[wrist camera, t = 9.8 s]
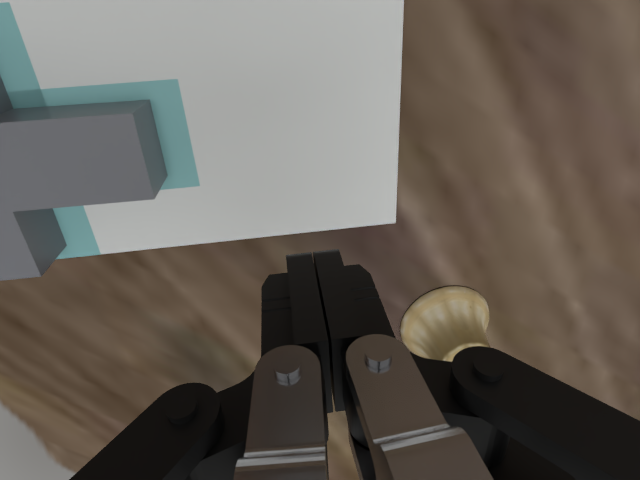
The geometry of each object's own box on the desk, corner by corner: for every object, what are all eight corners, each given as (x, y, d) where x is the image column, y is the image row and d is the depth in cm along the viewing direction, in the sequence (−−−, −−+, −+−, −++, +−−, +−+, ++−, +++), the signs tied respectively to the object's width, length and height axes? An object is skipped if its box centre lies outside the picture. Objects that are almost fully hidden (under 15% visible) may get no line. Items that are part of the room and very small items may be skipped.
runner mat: (-136, -12, 22) (-141, -12, 22) (404, -42, 24) (405, -42, 24) (2, 262, 30) (0, 264, 30) (394, 221, 32) (395, 222, 32)
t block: (-98, 28, 23) (-163, 32, 19) (130, 17, 24) (107, 18, 20) (7, 250, 29) (-27, 283, 26) (181, 234, 30) (170, 263, 27)
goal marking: (-105, 9, 22) (-110, 9, 22) (160, -7, 24) (159, -7, 23) (16, 261, 30) (14, 263, 30) (212, 240, 31) (211, 242, 31)
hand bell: (393, 357, 40) (464, 545, 26) (408, 285, 36) (500, 460, 22) (475, 354, 41) (585, 532, 27) (498, 284, 37) (640, 449, 23)
